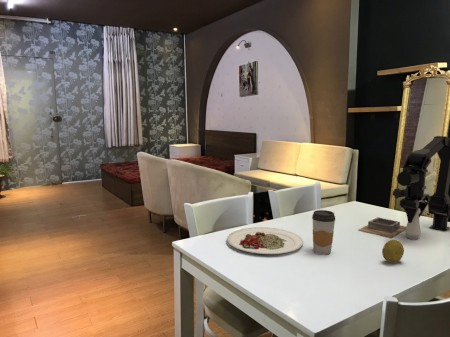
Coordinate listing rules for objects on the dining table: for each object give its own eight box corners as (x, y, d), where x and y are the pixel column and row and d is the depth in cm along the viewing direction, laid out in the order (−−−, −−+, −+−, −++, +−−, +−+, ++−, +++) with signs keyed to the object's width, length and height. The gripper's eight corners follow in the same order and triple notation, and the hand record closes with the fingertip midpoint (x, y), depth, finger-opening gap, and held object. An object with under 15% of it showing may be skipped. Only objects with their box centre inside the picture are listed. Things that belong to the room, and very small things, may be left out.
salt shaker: (422, 240, 146) (424, 209, 144) (406, 239, 147) (409, 209, 145) (417, 236, 151) (420, 206, 149) (402, 235, 152) (405, 205, 150)
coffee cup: (334, 249, 136) (336, 210, 134) (333, 257, 128) (335, 216, 126) (311, 246, 138) (313, 208, 136) (309, 254, 131) (311, 214, 129)
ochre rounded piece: (396, 258, 127) (398, 236, 126) (405, 262, 123) (407, 240, 122) (378, 261, 124) (380, 239, 123) (387, 266, 121) (389, 243, 120)
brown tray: (377, 221, 172) (377, 214, 172) (408, 228, 162) (408, 220, 162) (358, 230, 158) (358, 222, 158) (390, 238, 148) (391, 230, 148)
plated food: (313, 239, 147) (314, 231, 147) (284, 264, 122) (285, 255, 122) (249, 227, 163) (249, 220, 163) (212, 247, 138) (212, 238, 138)
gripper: (404, 178, 158) (401, 212, 160) (387, 183, 145) (384, 220, 147) (432, 181, 150) (429, 217, 152) (417, 187, 137) (413, 226, 139)
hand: (413, 220), depth 148 cm, fingers open, 9 cm apart
